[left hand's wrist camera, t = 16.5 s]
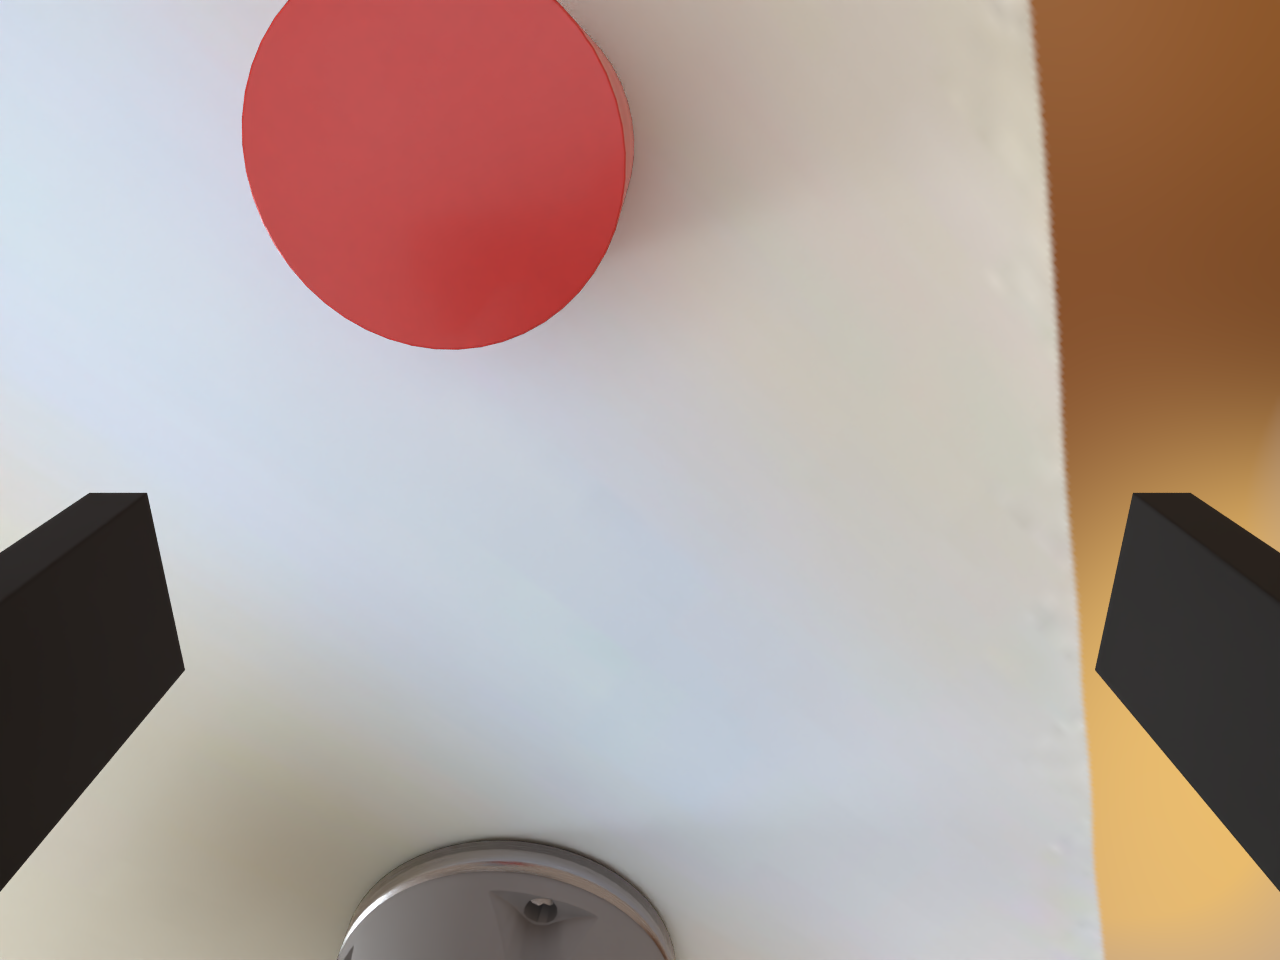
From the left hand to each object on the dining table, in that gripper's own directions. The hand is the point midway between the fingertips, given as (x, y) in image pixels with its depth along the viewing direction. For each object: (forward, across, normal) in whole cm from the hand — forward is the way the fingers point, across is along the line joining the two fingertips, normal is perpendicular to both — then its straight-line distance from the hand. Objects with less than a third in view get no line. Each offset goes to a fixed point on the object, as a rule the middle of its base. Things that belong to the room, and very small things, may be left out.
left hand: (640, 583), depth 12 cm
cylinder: (+20, +4, -5) cm, 21 cm away
